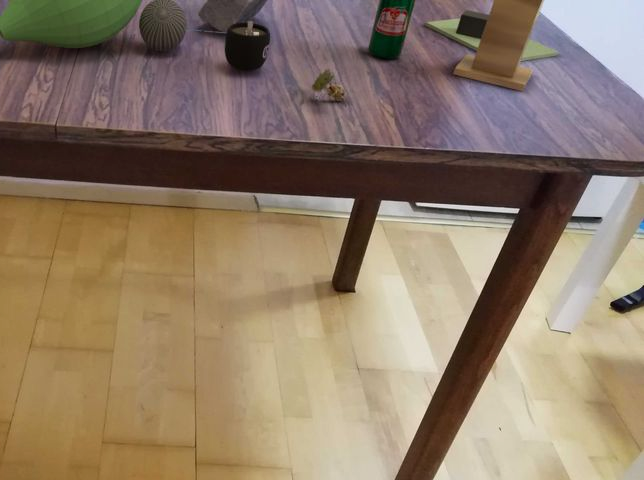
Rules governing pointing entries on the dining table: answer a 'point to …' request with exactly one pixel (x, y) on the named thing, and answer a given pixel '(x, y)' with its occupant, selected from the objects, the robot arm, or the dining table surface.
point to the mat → (450, 28)
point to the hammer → (472, 24)
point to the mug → (247, 46)
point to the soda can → (390, 28)
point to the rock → (229, 12)
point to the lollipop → (163, 25)
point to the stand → (503, 45)
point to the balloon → (66, 21)
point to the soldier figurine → (324, 81)
